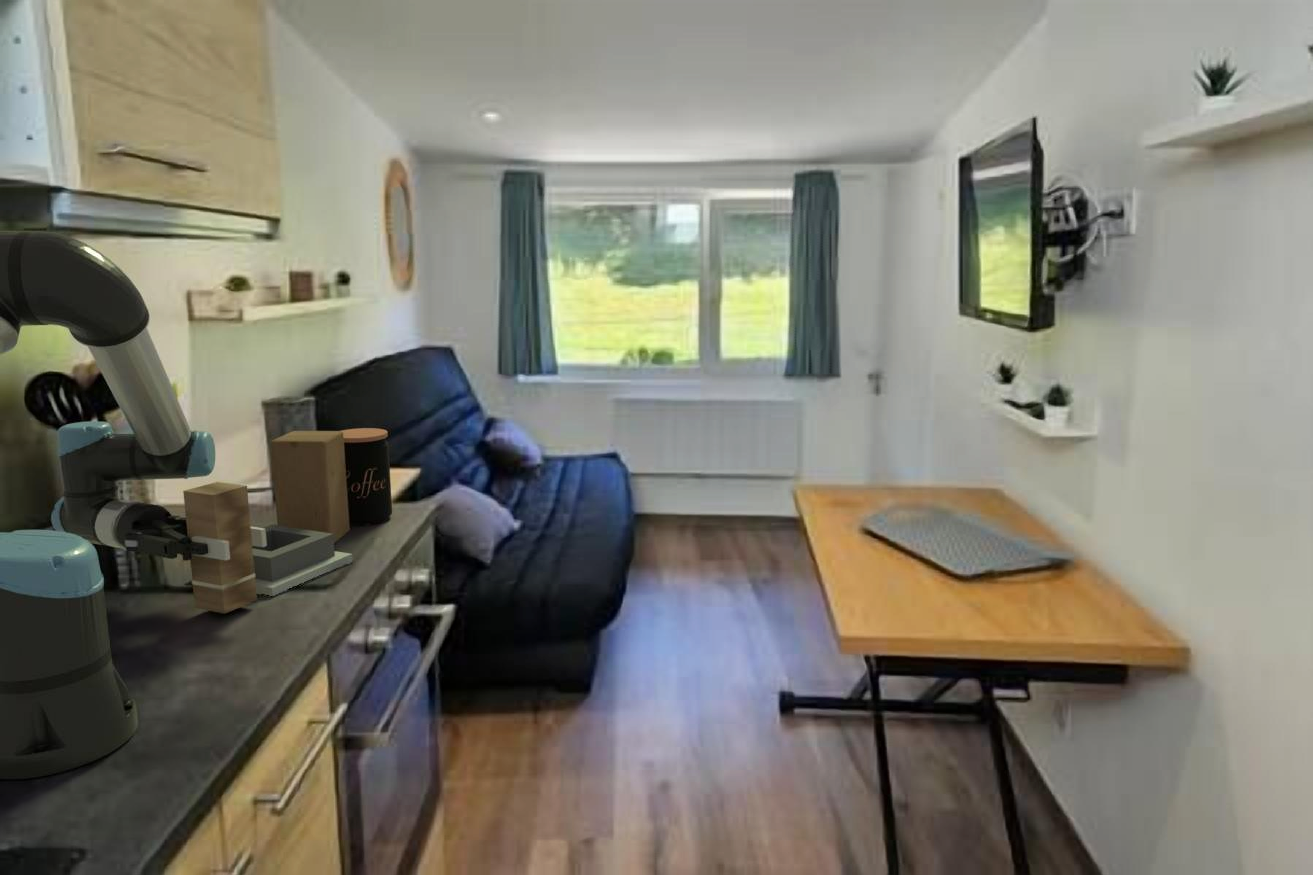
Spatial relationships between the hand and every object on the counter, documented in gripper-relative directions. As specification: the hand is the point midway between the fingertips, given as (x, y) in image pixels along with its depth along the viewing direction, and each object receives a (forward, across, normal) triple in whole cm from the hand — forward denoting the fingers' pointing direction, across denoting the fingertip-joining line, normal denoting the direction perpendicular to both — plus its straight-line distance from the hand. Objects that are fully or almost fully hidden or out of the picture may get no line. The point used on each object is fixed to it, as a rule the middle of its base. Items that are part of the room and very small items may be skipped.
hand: (245, 544), depth 132 cm
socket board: (-12, -16, -11) cm, 23 cm away
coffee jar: (-19, -47, -11) cm, 52 cm away
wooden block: (-19, -33, -11) cm, 40 cm away
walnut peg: (-5, 0, -10) cm, 11 cm away
